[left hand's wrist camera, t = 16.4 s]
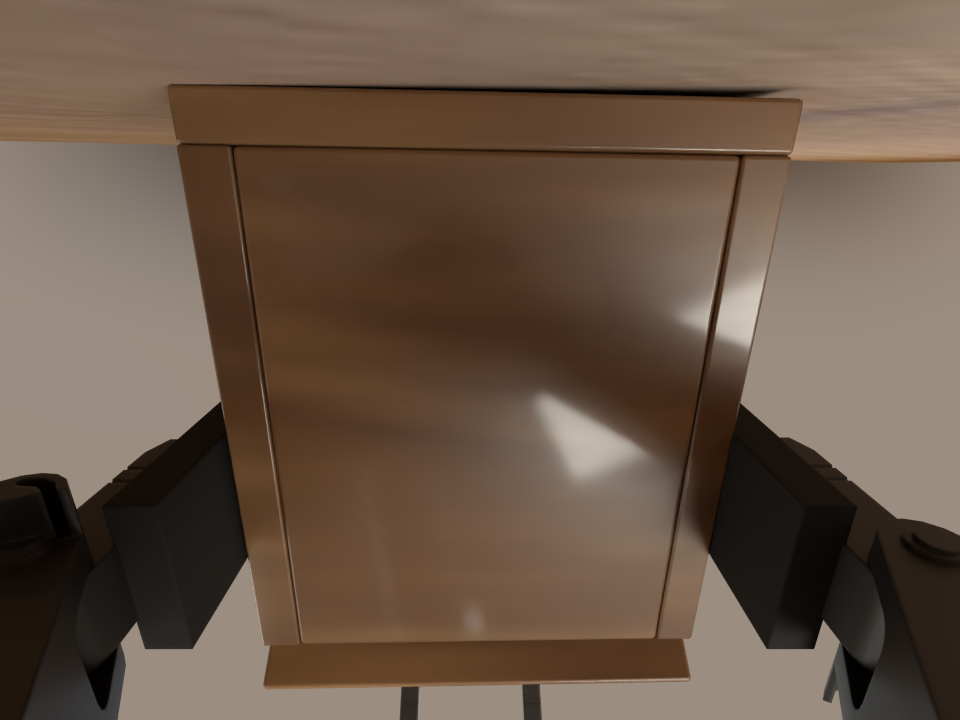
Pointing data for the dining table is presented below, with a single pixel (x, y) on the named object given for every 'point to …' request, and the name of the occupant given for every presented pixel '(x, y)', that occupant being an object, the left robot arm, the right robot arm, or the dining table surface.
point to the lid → (475, 666)
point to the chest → (479, 348)
